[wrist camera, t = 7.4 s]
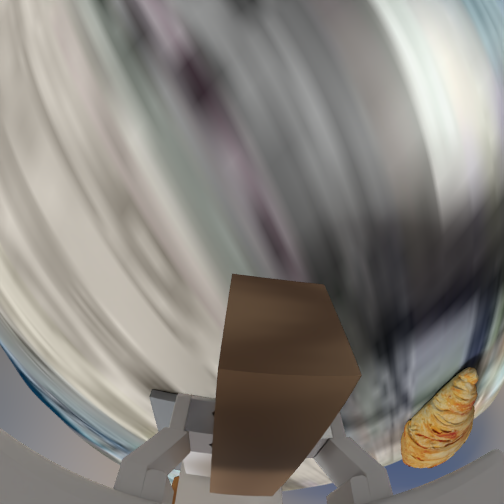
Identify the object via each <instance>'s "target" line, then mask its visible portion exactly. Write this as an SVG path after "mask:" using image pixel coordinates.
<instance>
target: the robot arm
mask: <svg viewBox="0 0 504 504" xmlns="http://www.w3.org/2000/svg"><path fill="white" fill-rule="evenodd" d="M215 401H216V399H212V398H206V397H200V396H194V395H189V394H183V393H178V395H177V397H176V401H175V405H174V409H173V413H172V417H171V421H170V425H169V428H168V427H164V428H163V429H162V430H161V431H159V432H158V433H157V434H155V435H154V436H153V437H152V438H150V439H149V440H148V441H146V442H145V443H144V444H142V445H141V446H140V447H138V448H137V449H136V450H134V451H133V452H132V453H130V454H129V455H128V456H126V457H125V458H123V459H122V462H121V465H120V469H119V472H118V476H117V479H116V482H115V485H114V489H112V488H109V487H107V486H104V485H101V484H99V483H96V482H94V481H92V480H89V479H87V478H84V477H82V476H80V475H78V474H76V473H73V472H71V471H70V470H67V469H65V468H63V467H61V466H60V465H58V464H56V463H54V462H52V461H50V460H48V459H47V458H45V457H43V456H41V455H40V454H38V453H36V452H35V451H33V450H31V449H30V448H28V447H27V446H25V445H24V444H22V443H20V442H19V441H18V440H16V439H15V438H13V437H12V436H11V435H9V434H8V433H6V432H5V431H4V430H2V429H1V428H0V504H172V501H173V494H174V491H173V488H172V486H171V484H170V481H169V479H168V477H167V475H168V474H169V473H170V472H171V471H172V470H173V469H174V468H175V467H176V466H177V465H179V464H180V463H181V462H182V461H183V460H184V459H185V457H186V456H187V455H188V454H189V453H190V451H192V452H199V453H207V454H212V443H213V428H214V414H215ZM306 458H314V460H315V461H316V463H317V464H318V465H319V466H320V468H321V469H322V470H323V471H324V472H325V474H326V475H327V476H328V477H329V478H330V480H331V481H332V482H333V483H334V484H335V486H336V487H337V489H336V490H334V492H332V493H330V494H329V495H328V496H327V504H504V452H502V451H500V450H498V449H495V450H492V451H490V452H488V453H487V454H485V455H483V456H482V457H480V458H479V459H477V460H475V461H473V462H471V463H469V464H468V465H466V466H464V467H462V468H460V469H458V470H456V471H454V472H452V473H450V474H447V475H445V476H443V477H441V478H439V479H436V480H434V481H432V482H429V483H427V484H424V485H422V486H419V487H417V488H414V489H411V490H408V491H405V492H402V493H399V494H396V495H393V493H392V489H391V485H390V481H389V477H388V474H387V470H386V469H385V468H384V467H383V466H382V465H381V464H379V463H378V462H377V461H376V460H375V459H374V458H372V457H371V456H370V455H369V454H368V453H367V452H366V451H365V450H363V449H362V448H361V447H360V446H359V445H358V444H357V443H356V442H355V441H354V440H352V439H351V438H350V437H346V434H345V430H344V426H343V422H342V418H341V414H340V412H339V413H338V415H337V416H336V418H335V419H334V420H333V422H332V423H331V425H330V426H329V428H328V429H327V431H326V432H325V433H324V435H323V436H322V437H321V439H320V440H319V441H318V443H317V444H316V445H315V447H314V448H313V449H312V451H311V452H310V453H309V455H308V456H307V457H306Z"/></svg>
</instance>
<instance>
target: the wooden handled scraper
mask: <svg viewBox="0 0 504 504" xmlns="http://www.w3.org/2000/svg"><path fill="white" fill-rule="evenodd" d="M361 376H362V375H361V372H360V370H359V367H358V364H357V362H356V359H355V357H354V354H353V352H352V349H351V347H350V344H349V342H348V339H347V337H346V335H345V332H344V330H343V327H342V325H341V323H340V320H339V318H338V315H337V313H336V311H335V308H334V306H333V304H332V301H331V299H330V297H329V295H328V292H327V290H326V288H325V286H324V285H323V284H314V283H305V282H296V281H287V280H279V279H270V278H262V277H254V276H246V275H238V274H232V279H231V285H230V292H229V298H228V305H227V311H226V318H225V325H224V332H223V338H222V345H221V352H220V359H219V366H218V377H217V389H216V401H215V414H214V428H213V443H212V454H207V453H199V452H192V451H190V453H189V454H188V455H187V456H186V457H185V459H184V460H183V462H184V467H185V472H186V473H187V474H192V475H199V476H206V477H210V493H217V494H227V495H241V496H273V495H274V494H275V493H276V492H277V491H278V490H279V488H280V487H281V486H282V485H283V484H284V483H285V482H286V481H287V480H288V479H289V477H290V476H291V475H292V474H293V473H294V472H295V470H296V469H297V468H298V467H299V466H300V464H301V463H302V462H303V461H304V460H305V458H306V457H307V456H308V455H309V453H310V452H311V451H312V449H313V448H314V447H315V445H316V444H317V443H318V441H319V440H320V439H321V437H322V436H323V435H324V433H325V432H326V431H327V429H328V428H329V426H330V425H331V423H332V422H333V420H334V419H335V418H336V416H337V415H338V413H339V412H340V410H341V408H342V407H343V405H344V404H345V402H346V401H347V399H348V397H349V396H350V394H351V393H352V391H353V389H354V388H355V386H356V384H357V383H358V381H359V379H360V377H361Z"/></svg>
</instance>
